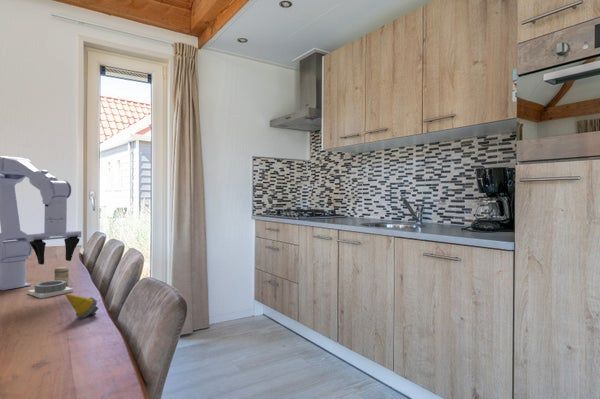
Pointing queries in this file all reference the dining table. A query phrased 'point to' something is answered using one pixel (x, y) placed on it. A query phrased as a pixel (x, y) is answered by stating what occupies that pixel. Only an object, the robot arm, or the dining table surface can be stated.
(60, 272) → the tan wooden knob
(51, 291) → the collar stand
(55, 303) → the dining table surface
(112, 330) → the dining table surface
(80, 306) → the cone
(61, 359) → the dining table surface
